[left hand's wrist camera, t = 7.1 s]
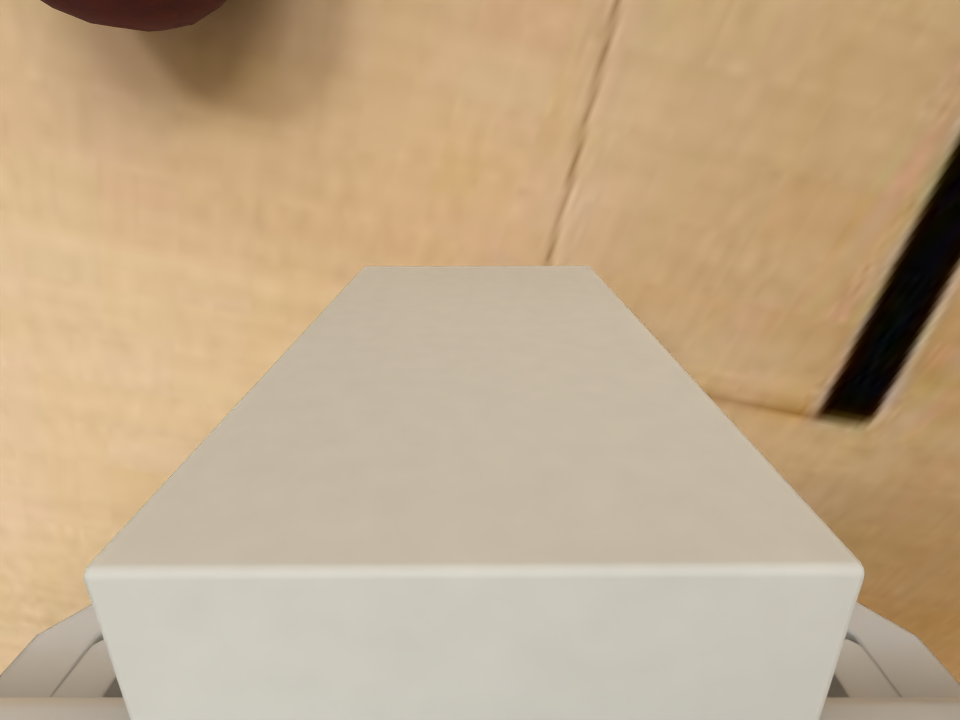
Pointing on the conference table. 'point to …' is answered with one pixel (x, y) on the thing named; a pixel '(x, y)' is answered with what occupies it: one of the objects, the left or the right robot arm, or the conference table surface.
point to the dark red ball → (138, 12)
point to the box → (475, 528)
